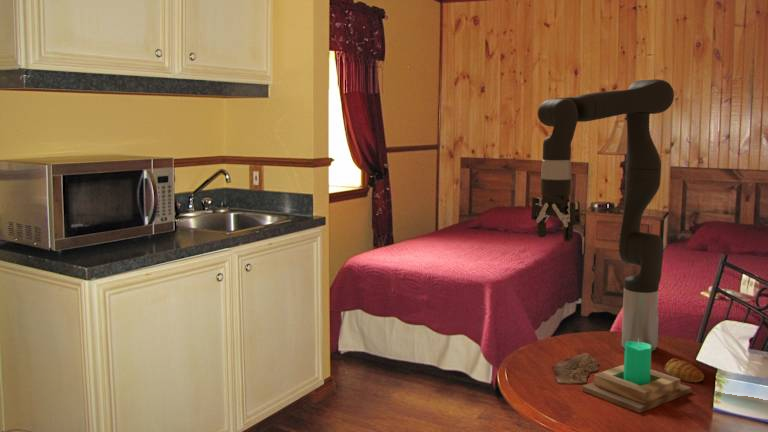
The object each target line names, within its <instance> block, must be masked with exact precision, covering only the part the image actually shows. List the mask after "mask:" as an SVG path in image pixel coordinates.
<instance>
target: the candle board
mask: <svg viewBox="0 0 768 432" xmlns="http://www.w3.org/2000/svg"><path fill="white" fill-rule="evenodd" d="M581 392H585V393H586V394H590V395H593V396H594V397H597V398H600V399H602V400H604V401H607V402H610V403H612V404H616V405H618V406H620V407H623V408H625V409H628V410H630V411H632V412H635V413H637V414H641V413H644V412H647V411H648V410H651V409H654V408H656V407H658V406H661V405H664V404H666V403H669V402H670V401H673V400H675V399H677V398H681V397H683V396H685V395H688V394H690V393H692V387H690V386H688V385H685V384H681V380H680V379H679V378H676V377H673V376H671V375H668V374H667V373H664V372H660V371H657V370H654V369H651V371H650V383H647V384H645V385H642V386H640V385H637V384H635V383H632V382H629V381H626V380H624V364H621V365H618V366H616V367H612V368H609V369H606V370H604V371H602V372H597V373H595V374H593V381H592V382H590V383H586V384H583V385H582V386H581Z"/></svg>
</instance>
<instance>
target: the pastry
mask: <svg viewBox="0 0 768 432" xmlns="http://www.w3.org/2000/svg"><path fill="white" fill-rule="evenodd" d="M664 372H665V374H666V375H669V376H673V377H676V378H679V379H680V381H685V382H688V383H699V382H702V381H703V380H704V378H705V374H704V373H703V372H702V370H701V369H699V368H698V367H697V366H696V365H695V366H694V365H693V364H692V362H688V361H686V360H680V359H678V358H671V359H670V360H668V361H667V363H666V364H665V366H664Z"/></svg>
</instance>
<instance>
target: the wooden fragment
mask: <svg viewBox="0 0 768 432" xmlns="http://www.w3.org/2000/svg"><path fill="white" fill-rule="evenodd" d="M600 365H601V363H600V362H598V360H597V359H596V358H594V357H593V356H591V354H589V353H587V352H584V353H581V354H578V355H575V356H573V357H570V358H566V359H564V360H562V361H560V362H558V363H555V364H553V366H551V367H552V369H553V372H554V376H555V377H556V381H557V384H558V385H571V386H572V385H582V384H583V385H584V384H587V382H588V381H587V380H588V377H590V374H591V373H595V372H597V371H598V370H600V369H599V366H600Z"/></svg>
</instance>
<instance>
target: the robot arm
mask: <svg viewBox="0 0 768 432" xmlns="http://www.w3.org/2000/svg"><path fill="white" fill-rule="evenodd" d="M674 99H675V94H674V89H673V87H672V85H671V84H670V83H669V81H666V80H663V79H653V78H652V79H642V80H635V81H634V82H632V83H630V86H628V88H627V89H624V90H623V89H622V90H621V89H620V90H611V91H610V90H609V91H599V92H592V93H591V92H590V93H586V94H581V95H580V94H579V95H577V96H571V97H558V98H557V97H556V98H549V99H546V100H545V101H543V102H542V103H541V104H540V105H539V107H538V109H537V118H538V120H539V122H541V124H543V125H544V126H547V127H553V128H552V129H553V130H552V133H551V135H550V136H549V135H548V136H547V137H545V138H544V139H543V142H542V163H541V173H540V176H541V177H540V195H541V196H542V197H541V196H538V197H533V198H532V200H531V201H532V202H531V215H530V217H531V220H533V221H535V222H536V223H537V235H538V236H537V237H538V238H545V237H546V236H547V222H546V221H547V220H548V218H549V217H552V216H553V217H555V218H559V221H561V222H562V224H563V226H564V227H563V242H567V243H568V242H572V239H573V237H574V236H573V234H574V227H575V226H579V225H580V224H581V207H580V206H581V204H580V202H579V201H578V200H577V201H570V195H571V193H572V189H571V188H572V163H571V162H572V161H571V160H572V158H571V157H572V141H573V138H574V136H575V131H576V127H577V124H578V122H579V123H584V122H591V121H596V120H602V119H606V118H612V117H615V116H616V117H617V116H621V115H625V116H626V134H627V135H626V161H625V176H624V177H625V178H624V200H623V211H622V218H621V219H622V221H621V227H620V233H619V240H618V253H619V257H620V259H621V260H622V262H624V263H627V264H631V265H636V266H640V271H639V273H638V274H634V275H630V276H629V275H628V276H626V277H625V278H624V279H623V280H624V281H623V296H622V297H623V298H622V299H623V300H622V301H623V302H622V325H621V347H622V348H623V349H625V343H626V341H632V342H638V339H639V342H644V343H647V344H650V345H651V346H652V349H651V353H652V352H654V351H655V350H656V349H657V347H658V340H659V338H658V337H659V319H660V315H659V314H658V307H659V306H658V305H659V286H660V282H661V278H662V270H663V258H664V251H665V250H664V241H663V239H662V237H661V236H660V235H658V234H656V233H655V234H653V233H650V232H649V233H648V232H642V231H641V221H642V218H643V214H644V212H645V211H646V209H647V207H648V206H649V205H650V204H651V201H652V200H653V199H654V197H655V196H656V194H657V192H658V191H659V189H660V185H661V175H662V161H661V157H660V154H659V152H658V149H657V148H656V145H655V143H654V141H653V138H652V135H651V130H650V116H651V115H655V114H656V115H657V114H662V113H664V112H666V111H667V110H668V109H670V107H671V106H672V104H673V102H674Z"/></svg>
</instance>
